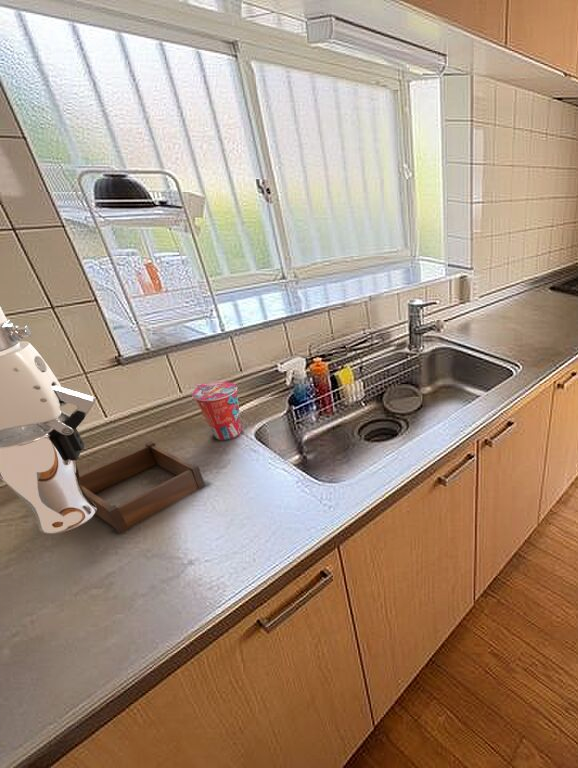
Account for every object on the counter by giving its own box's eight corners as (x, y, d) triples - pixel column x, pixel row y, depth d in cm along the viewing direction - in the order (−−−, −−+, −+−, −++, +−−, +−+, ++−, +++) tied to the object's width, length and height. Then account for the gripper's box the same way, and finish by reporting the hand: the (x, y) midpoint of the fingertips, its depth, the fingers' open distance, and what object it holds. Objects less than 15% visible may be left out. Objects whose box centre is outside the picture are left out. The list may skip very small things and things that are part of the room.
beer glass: (99, 495, 66) (57, 413, 59) (103, 520, 61) (58, 435, 55) (35, 516, 61) (-19, 431, 54) (35, 545, 57) (-24, 456, 50)
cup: (256, 426, 103) (245, 382, 97) (236, 446, 95) (222, 400, 89) (218, 424, 102) (204, 380, 97) (194, 444, 95) (178, 398, 89)
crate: (75, 502, 78) (62, 479, 75) (160, 461, 89) (151, 440, 86) (121, 535, 72) (109, 511, 69) (206, 487, 83) (198, 465, 80)
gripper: (76, 321, 56) (124, 432, 64) (-135, 342, 47) (-48, 468, 55) (62, 340, 50) (117, 459, 59) (-179, 367, 42) (-75, 503, 50)
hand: (37, 462), depth 57 cm, fingers closed on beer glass, 7 cm apart
